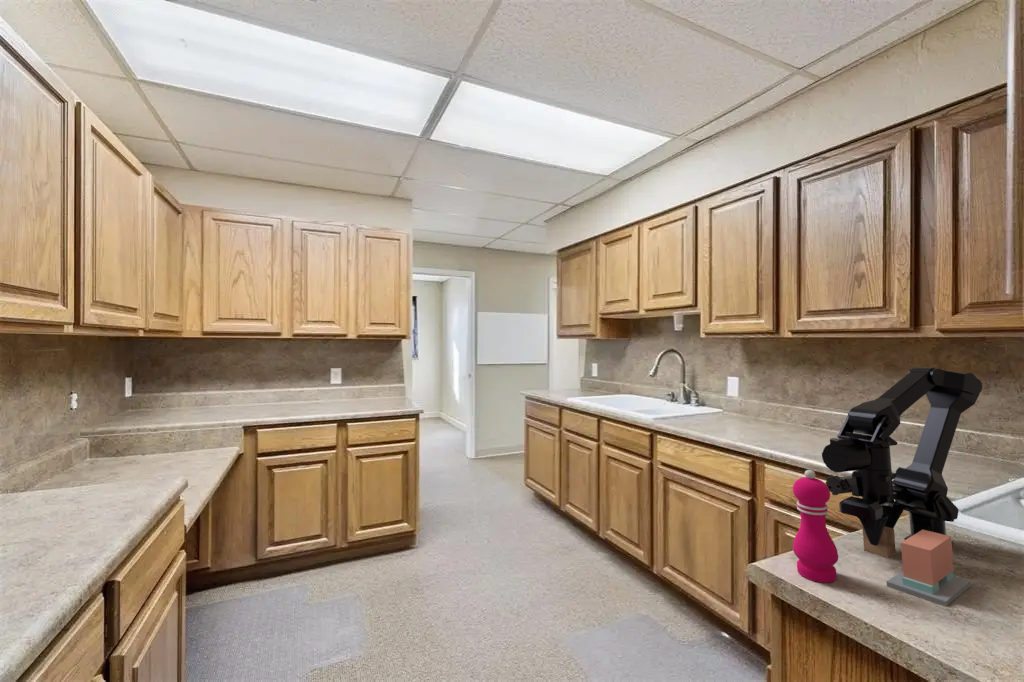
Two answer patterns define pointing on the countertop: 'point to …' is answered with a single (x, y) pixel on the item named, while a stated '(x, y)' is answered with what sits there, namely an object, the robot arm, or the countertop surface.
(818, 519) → the pepper mill
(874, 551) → the block
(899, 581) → the build plate
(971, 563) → the countertop surface
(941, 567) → the bar
